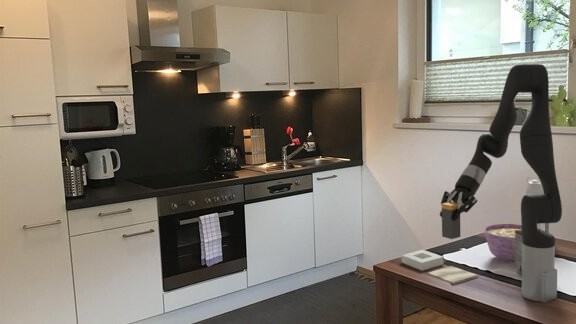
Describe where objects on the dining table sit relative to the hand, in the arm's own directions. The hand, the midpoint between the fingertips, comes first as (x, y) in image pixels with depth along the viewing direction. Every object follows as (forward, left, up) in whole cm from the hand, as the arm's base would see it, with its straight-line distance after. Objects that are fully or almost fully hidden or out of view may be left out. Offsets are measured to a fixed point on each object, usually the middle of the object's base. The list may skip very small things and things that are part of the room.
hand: (447, 218), depth 179 cm
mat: (0, -2, -22) cm, 22 cm away
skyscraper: (+8, -60, -22) cm, 65 cm away
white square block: (+15, -2, -22) cm, 26 cm away
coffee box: (-16, -24, -22) cm, 37 cm away
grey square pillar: (0, -2, -7) cm, 7 cm away
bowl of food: (-1, -33, -22) cm, 40 cm away
